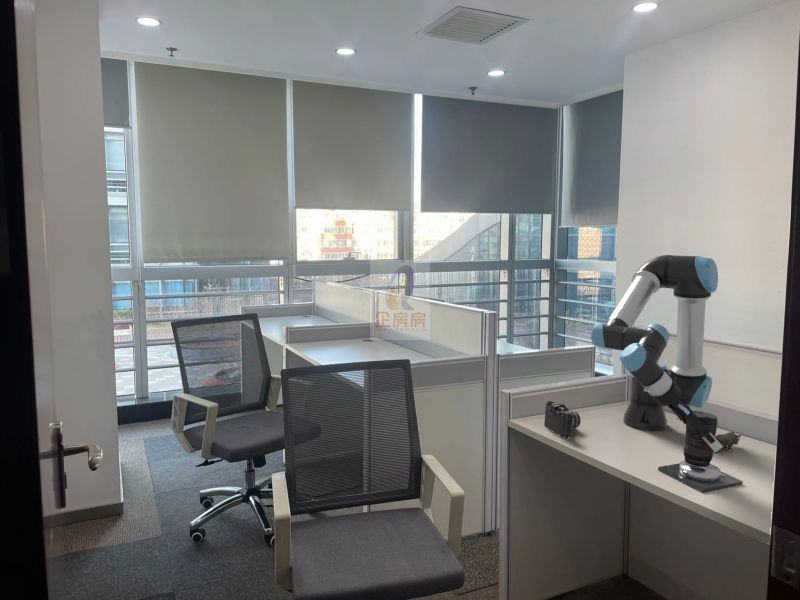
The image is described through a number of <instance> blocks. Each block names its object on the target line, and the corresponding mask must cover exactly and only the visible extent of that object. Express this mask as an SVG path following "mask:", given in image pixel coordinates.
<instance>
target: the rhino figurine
mask: <svg viewBox="0 0 800 600" xmlns="http://www.w3.org/2000/svg"><path fill="white" fill-rule="evenodd" d="M741 436H742V434H736V433H735V432H734V431H730V432H727V433H725V434H724V433H723V434H720V433H719V434H716V435H715V438H716V439H717V440H718V441H719V443H720V444H721V445H722V446H723V447H724V448H723V447H722V448H723V449H725V448H727V451H729V450H731V451H730V452H733V449H732V447H733V446H734V445H736V446H737V445H738V444H739V441H740V437H741ZM715 453H716V454H718V453H721V454H722V452H721V449H719V450H718V451H717V452H715Z"/></svg>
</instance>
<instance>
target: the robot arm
mask: <svg viewBox="0 0 800 600" xmlns="http://www.w3.org/2000/svg"><path fill="white" fill-rule="evenodd" d="M718 283H719V271H718V267H717V264H716V262H715V260H714V259H713V258H710V257H706V256H700V255H676V254H674V255H672V254H664V255H659V256H655V257H654V258H651V259H650V260H647V261H646V262H645V263H643V264H642V265H640V267H639V268H637V270H636V271H635V273H634V274H633V275H632V278H631V284H630V285H629V287H628V288H627V290H626V291H625V293H624V294H623V295H622V297H621V299H620V300H619V303H618V304H617V305H616V307H615V309H614V310H613V312H612V313H611V315H610V316H609V318H608V319H607V321H606V322H605V323H598V322H597V323H596V324H594V325H593V327H592V329H591V333H590V340H591V343H592V344H593V345H594V346H595V347H598V348H603V349H608V350H609V349H610V350H614V351H615V350H616V351H621V352H620V354H619V361H620V362H621V363H622V365H623V366H624V367H625V369H626V370H627V371H628V372H629V373H630V374H631V377H630V378H631V381H630V393H629V394H630V395H629V396H630V397H629V403H628V405H627V407H626V411H625V413H623V420H622V421H623V423H624V424H625V425H627V426H629V427H631V428H634V429H638V430H644V431H656V432H657V431H658V432H659V431H663V430H664V431H665V430H666V429H667V426H668V420H667V418H666V413H665V408H664V407H667V408H668V409H670V410H671V411H672V412H673V413H674V415H675V416H677V418H678V419H679V421H681V422H682V423H683V424H684V425H686V421H688V422H689V424H690V425H691V426H692V427H693V428H694V429H695V430H696V431H697V432H698V433H699V434H700V436H699V437H700V438H703V439H704V441H705V442H706V443H707V444H708V445H709V446H710V447H711V448H712V449H713V453H716V452H717V451H718V450H719V449H720V450H721V449H723V446H722V445H721V444H720V443H719V441H718V440H717V439H716V438H715V437H714V436H713V435H712V434H711V430H710V429H708V428H707V427H706V426H705V424H704V423H703V422H702V421H701V420H700V419H699V418H698V417H697V416H696V415H695V414H694V413H693V412H692V411H693V410H692V409H691V408H697V409H701V408H703V407H704V406H705V405H706V404H707V401H708V399H709V397H710V394H711V391H712V386H713V378H712V377H710V376H709V375H707V371H708V370H707V369H706V368H705V367H704V366H703V356H704V355H703V354H704V341H705V340H704V339H705V321H706V318H705V317H706V304H707V303H706V301H707V300H709V298H711V297H712V293H715V292H716V291H717V289H718ZM660 289H670V290H671V289H672V290H673V296H674V298H675V299H677V320H676V321H677V322H676V337H675V338H676V341H675V363H674V364H672V365H671V366H670V369H668V367H667V365H666V364H665V363H661V362H659V360H660V359H661V356H662V355H663V353H664V350H665V349H666V347H667V345H668V341H669V339H670V332H669V330H667V328H666V327H665V326H663V325H661V324H658V323H651V324H647V326H646V327H644V328H643V329H642V328H635V327H633V326H634V325H635V323H636V321H637V319H638V318H639V316H640V314H641V313H642V312H643V310H644V308H645V306H646V305H647V303H648V301H649V300H650V298H651V296H652V295H653V294H655V293H657V292H659V290H660ZM665 428H666V429H665Z"/></svg>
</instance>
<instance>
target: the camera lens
mask: <svg viewBox="0 0 800 600" xmlns="http://www.w3.org/2000/svg"><path fill="white" fill-rule="evenodd" d="M692 412H693V413H694V414H695V415H696V416H697V417H698V418H699V419H700V420H701V421H702V422H703V423H704V424H705V426H706V427H707V428H708V429H710V430H711V434H712V435H713V436H714V437H715V436H716V435H717V429H718V417H717V415H715V414H712V413H709V412H705V411H700V410H692ZM699 436H700V434H699V433H698V432H697V431H696V430H695V429H694V428H693V427H692V426H691V425H690V424H689V422H688V421H686V424H685V435H684V443H683V456H684V461H685V462H686V463H688V464H690V465H693V466H697V467H708V466H709V465H710V464H711V462H712V461H713V456H714V451H713V449H712V448H711V447H710V446H709V445H708V444H707V443H706V442H705V441H704V439H703V438H700V437H699Z"/></svg>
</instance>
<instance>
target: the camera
mask: <svg viewBox="0 0 800 600" xmlns="http://www.w3.org/2000/svg"><path fill="white" fill-rule="evenodd" d="M580 425H581V416H580V414H579V413H578V412H577V411H574V410H569V408H568V407H567V406H566V405H565V404H564V403H555V401H553V400H552V399H551V400H548V401H546V403H545V411H544V427H546V428H547V429H548V428H549V430H550V429H551V430H553V431H554V432H556V433H557V434H559V435H560V436H562V437H565V438H564V439H571V438H572V430H576V429H577V428H579V427H580ZM551 430H550V431H551ZM553 431H552V432H553ZM554 432H553V433H554ZM556 433H555V434H556ZM557 434H556V435H557ZM559 435H558V436H559ZM560 436H559V437H560ZM562 437H561V438H562ZM568 437H569V438H568ZM570 437H571V438H570Z"/></svg>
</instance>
